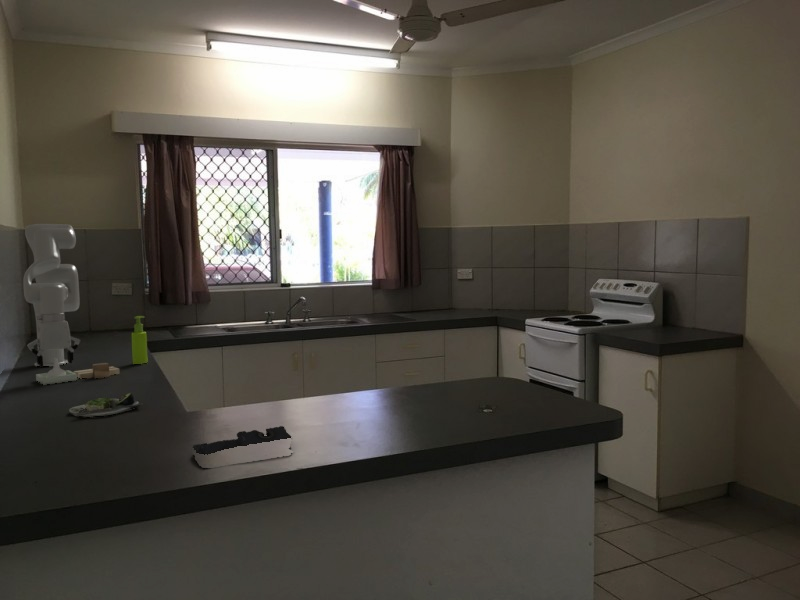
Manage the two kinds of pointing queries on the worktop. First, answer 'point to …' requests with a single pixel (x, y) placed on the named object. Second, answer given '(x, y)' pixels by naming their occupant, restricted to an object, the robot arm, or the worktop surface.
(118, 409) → the salad plate
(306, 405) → the worktop surface
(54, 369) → the garlic bulb
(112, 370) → the board
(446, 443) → the worktop surface
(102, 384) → the worktop surface
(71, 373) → the dish
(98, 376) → the block
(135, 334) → the soap dispenser
